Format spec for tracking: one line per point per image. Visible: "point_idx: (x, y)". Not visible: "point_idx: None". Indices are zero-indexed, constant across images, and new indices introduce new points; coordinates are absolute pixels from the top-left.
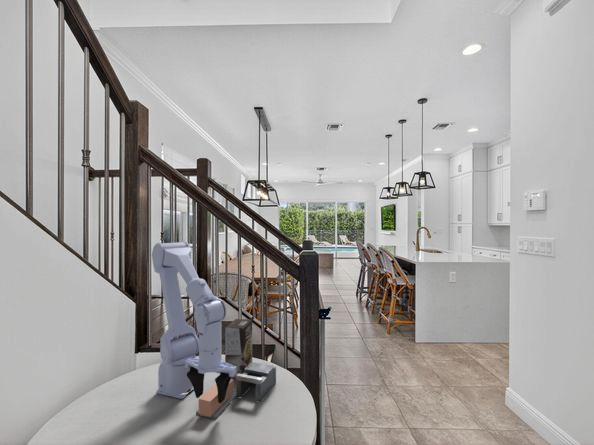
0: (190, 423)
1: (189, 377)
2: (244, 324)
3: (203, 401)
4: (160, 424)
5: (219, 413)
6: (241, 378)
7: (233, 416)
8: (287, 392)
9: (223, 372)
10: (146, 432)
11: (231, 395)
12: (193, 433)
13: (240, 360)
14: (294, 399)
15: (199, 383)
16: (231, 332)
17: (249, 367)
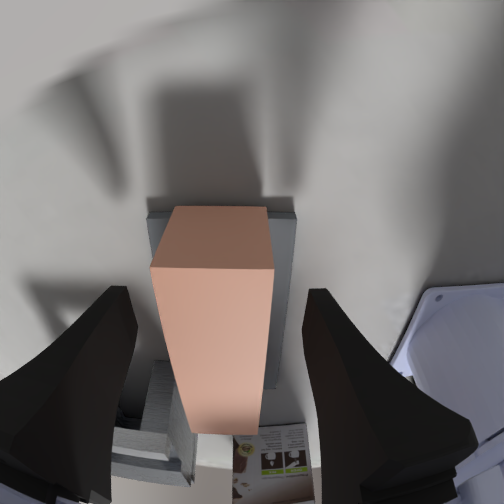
0: (277, 131)
1: (435, 419)
2: None
3: (222, 259)
4: (443, 88)
5: (152, 250)
6: (135, 440)
7: (88, 258)
8: None
9: (33, 499)
10: (466, 25)
11: None
12: (195, 60)
13: (242, 489)
14: (14, 368)
15: (328, 389)
16: None
17: (169, 475)
